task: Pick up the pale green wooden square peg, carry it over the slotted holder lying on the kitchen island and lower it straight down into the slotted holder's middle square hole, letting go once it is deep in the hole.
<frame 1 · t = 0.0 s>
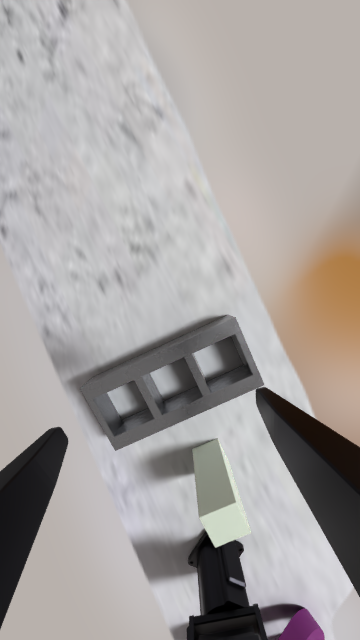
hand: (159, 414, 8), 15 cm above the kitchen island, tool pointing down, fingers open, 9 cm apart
slotted holder: (173, 375, 24), on the kitchen island
peg: (210, 455, 26), on the kitchen island
mounting bracket: (260, 623, 30), on the kitchen island
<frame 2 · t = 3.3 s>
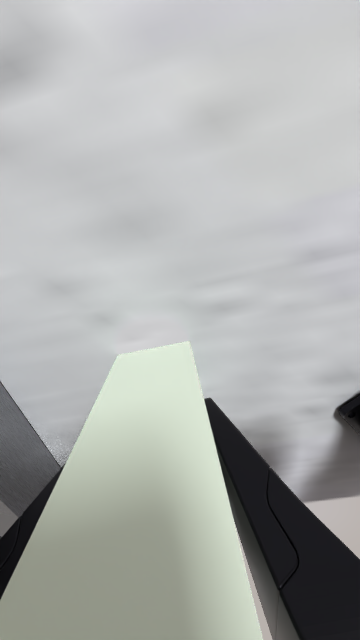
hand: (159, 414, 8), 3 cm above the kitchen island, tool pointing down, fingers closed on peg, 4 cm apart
peg: (161, 377, 10), on the kitchen island, touching gripper
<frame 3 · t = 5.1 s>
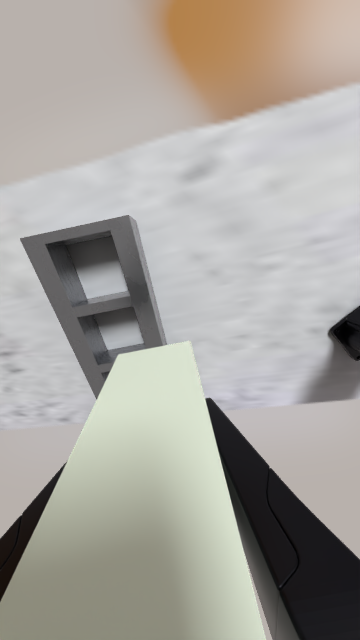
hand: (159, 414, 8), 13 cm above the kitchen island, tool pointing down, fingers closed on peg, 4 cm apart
slotted holder: (122, 325, 20), on the kitchen island
peg: (162, 376, 10), point 11 cm above the kitchen island, touching gripper
when the fingers open (4 cm above the kitchen island, at t = 7.1 s): peg drops 2 cm, resting in slotted holder.
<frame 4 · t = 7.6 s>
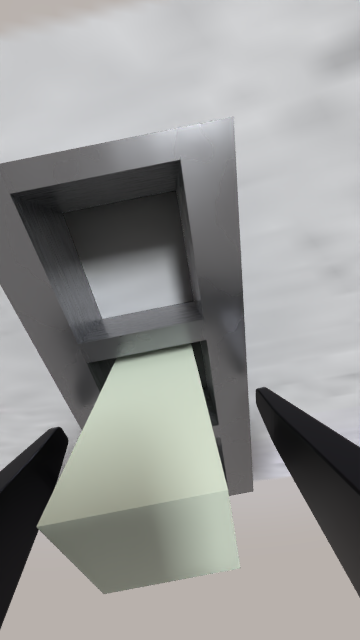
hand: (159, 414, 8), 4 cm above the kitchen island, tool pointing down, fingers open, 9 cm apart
slotted holder: (161, 362, 12), on the kitchen island
peg: (163, 361, 12), resting in slotted holder
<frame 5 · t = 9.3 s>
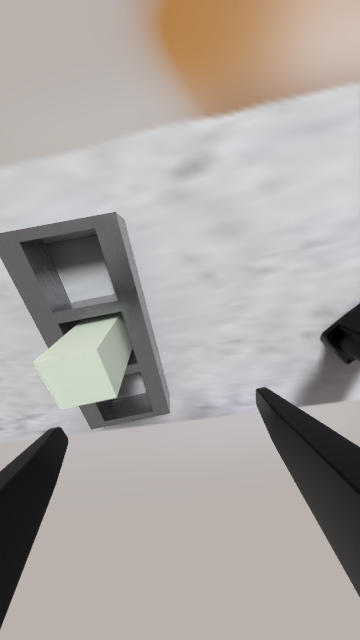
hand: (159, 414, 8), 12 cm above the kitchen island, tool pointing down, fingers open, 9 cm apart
slotted holder: (109, 331, 19), on the kitchen island
peg: (110, 330, 19), resting in slotted holder
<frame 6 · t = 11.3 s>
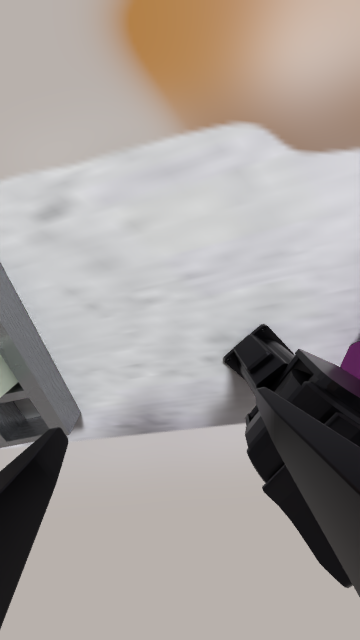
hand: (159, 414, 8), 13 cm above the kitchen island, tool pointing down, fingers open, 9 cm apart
slotted holder: (8, 357, 20), on the kitchen island
peg: (9, 356, 20), resting in slotted holder
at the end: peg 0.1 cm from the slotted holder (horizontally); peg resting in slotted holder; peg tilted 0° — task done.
